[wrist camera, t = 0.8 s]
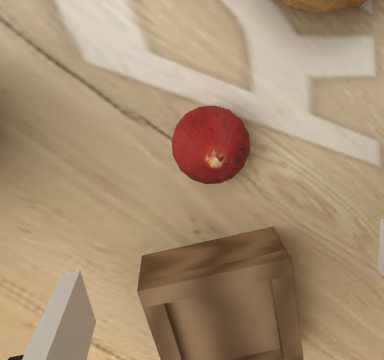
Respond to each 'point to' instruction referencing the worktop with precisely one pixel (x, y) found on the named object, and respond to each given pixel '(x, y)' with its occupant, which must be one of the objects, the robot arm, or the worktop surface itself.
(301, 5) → the potato
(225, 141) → the pomegranate
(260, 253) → the walnut tray
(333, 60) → the worktop surface
